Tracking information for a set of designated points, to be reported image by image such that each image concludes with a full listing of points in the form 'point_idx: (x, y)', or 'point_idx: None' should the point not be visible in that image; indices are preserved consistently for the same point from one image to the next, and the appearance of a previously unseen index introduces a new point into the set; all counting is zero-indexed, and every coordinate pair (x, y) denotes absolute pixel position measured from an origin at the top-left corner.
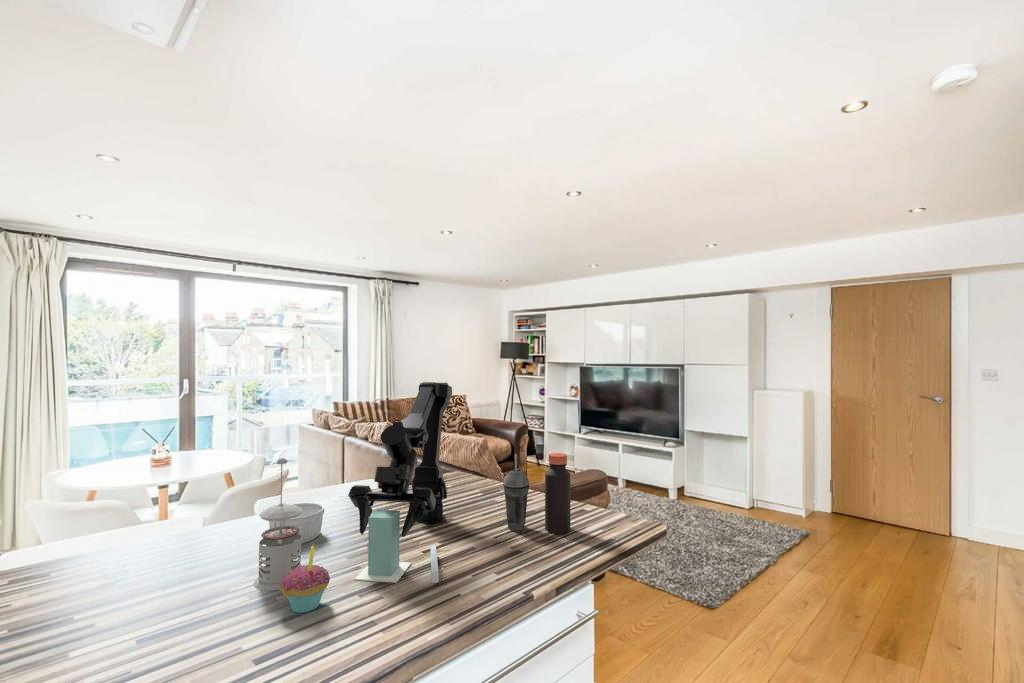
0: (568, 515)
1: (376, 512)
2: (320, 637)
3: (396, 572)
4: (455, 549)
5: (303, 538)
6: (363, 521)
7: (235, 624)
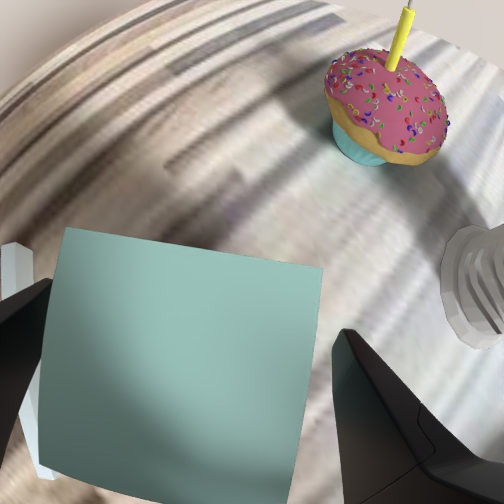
0: None
1: (279, 435)
2: (269, 40)
3: None
4: (13, 487)
5: None
6: (369, 376)
7: None
